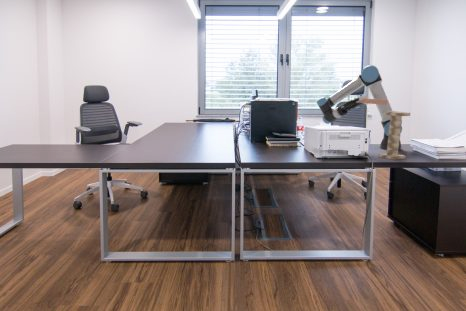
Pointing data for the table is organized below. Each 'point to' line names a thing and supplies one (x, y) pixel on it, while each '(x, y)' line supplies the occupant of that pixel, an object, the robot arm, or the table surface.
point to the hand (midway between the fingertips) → (365, 96)
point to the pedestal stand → (394, 135)
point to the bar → (373, 101)
